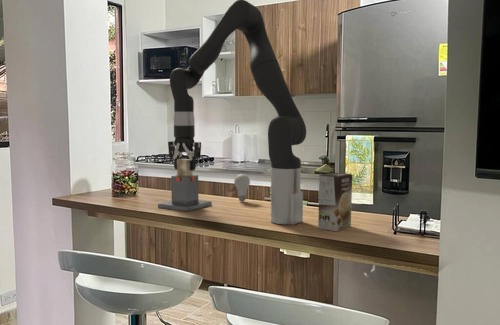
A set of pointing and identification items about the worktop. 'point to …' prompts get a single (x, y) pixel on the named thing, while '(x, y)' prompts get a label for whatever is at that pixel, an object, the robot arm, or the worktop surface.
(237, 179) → the lightbulb
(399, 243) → the worktop surface
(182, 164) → the column
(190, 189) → the stand
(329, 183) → the coffee box
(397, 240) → the worktop surface
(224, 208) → the worktop surface
